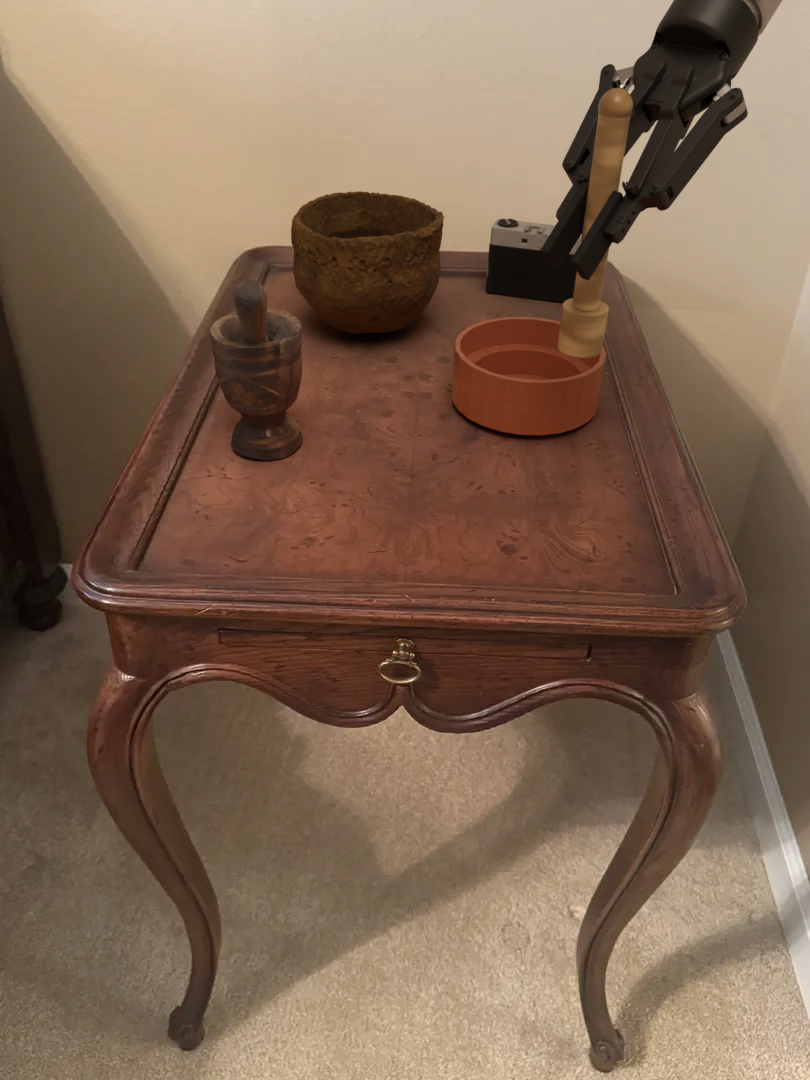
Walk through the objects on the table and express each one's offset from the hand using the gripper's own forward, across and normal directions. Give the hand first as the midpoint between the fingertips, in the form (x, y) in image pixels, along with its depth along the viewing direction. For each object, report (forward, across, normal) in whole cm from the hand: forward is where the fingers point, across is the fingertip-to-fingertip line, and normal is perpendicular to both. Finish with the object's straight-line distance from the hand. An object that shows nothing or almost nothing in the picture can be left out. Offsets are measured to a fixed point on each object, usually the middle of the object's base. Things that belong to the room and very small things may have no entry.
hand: (564, 265), depth 73 cm
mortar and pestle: (+27, +23, -6) cm, 35 cm away
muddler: (+3, 0, -9) cm, 9 cm away
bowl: (+7, +39, -25) cm, 47 cm away
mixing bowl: (+7, +12, -25) cm, 28 cm away
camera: (-12, +32, -44) cm, 56 cm away
